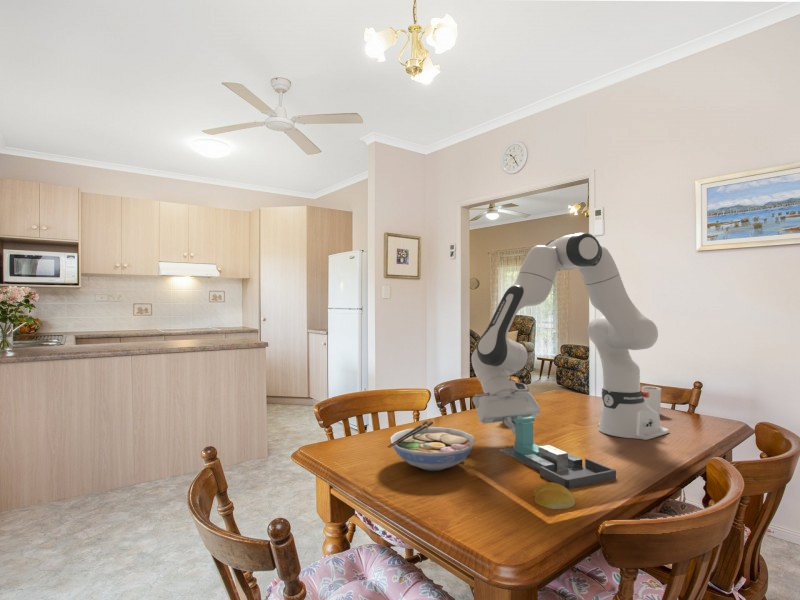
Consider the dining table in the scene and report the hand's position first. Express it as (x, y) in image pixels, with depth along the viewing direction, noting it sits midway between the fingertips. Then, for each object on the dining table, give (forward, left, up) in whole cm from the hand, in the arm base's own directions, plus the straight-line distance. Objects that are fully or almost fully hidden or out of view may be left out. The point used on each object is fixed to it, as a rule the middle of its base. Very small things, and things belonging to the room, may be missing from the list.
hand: (519, 432), depth 125 cm
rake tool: (0, +5, -5) cm, 7 cm away
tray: (0, +22, -6) cm, 23 cm away
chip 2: (0, +16, -5) cm, 16 cm away
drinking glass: (-76, -17, -6) cm, 78 cm away
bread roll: (+14, +30, -6) cm, 33 cm away
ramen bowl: (+28, 0, -6) cm, 28 cm away
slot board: (0, +8, -6) cm, 10 cm away
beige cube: (0, +12, -5) cm, 13 cm away
